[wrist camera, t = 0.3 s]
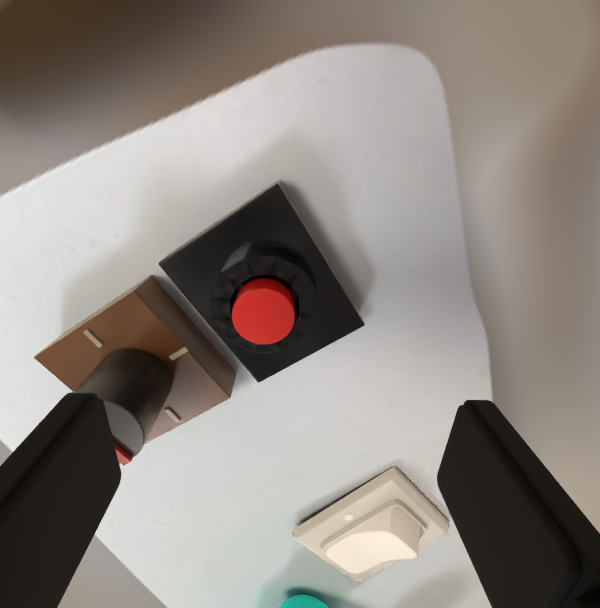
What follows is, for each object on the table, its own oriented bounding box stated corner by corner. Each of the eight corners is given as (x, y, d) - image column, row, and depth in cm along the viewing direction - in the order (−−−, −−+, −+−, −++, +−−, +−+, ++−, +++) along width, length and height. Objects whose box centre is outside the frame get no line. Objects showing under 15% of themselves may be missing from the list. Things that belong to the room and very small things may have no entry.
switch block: (168, 253, 23) (146, 273, 19) (278, 179, 21) (276, 185, 18) (260, 366, 27) (256, 399, 23) (359, 311, 25) (371, 338, 22)
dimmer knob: (82, 370, 23) (28, 427, 18) (137, 335, 22) (94, 387, 17) (134, 417, 25) (96, 480, 20) (186, 387, 24) (160, 446, 19)
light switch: (465, 555, 33) (359, 613, 35) (445, 514, 36) (350, 569, 39) (407, 498, 29) (292, 567, 31) (391, 459, 33) (290, 523, 35)
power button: (224, 296, 21) (218, 309, 19) (273, 266, 20) (271, 276, 18) (258, 339, 22) (255, 354, 20) (305, 312, 21) (306, 325, 20)
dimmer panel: (59, 336, 25) (30, 359, 23) (152, 273, 24) (133, 290, 21) (151, 420, 29) (135, 450, 26) (237, 372, 27) (231, 398, 24)
